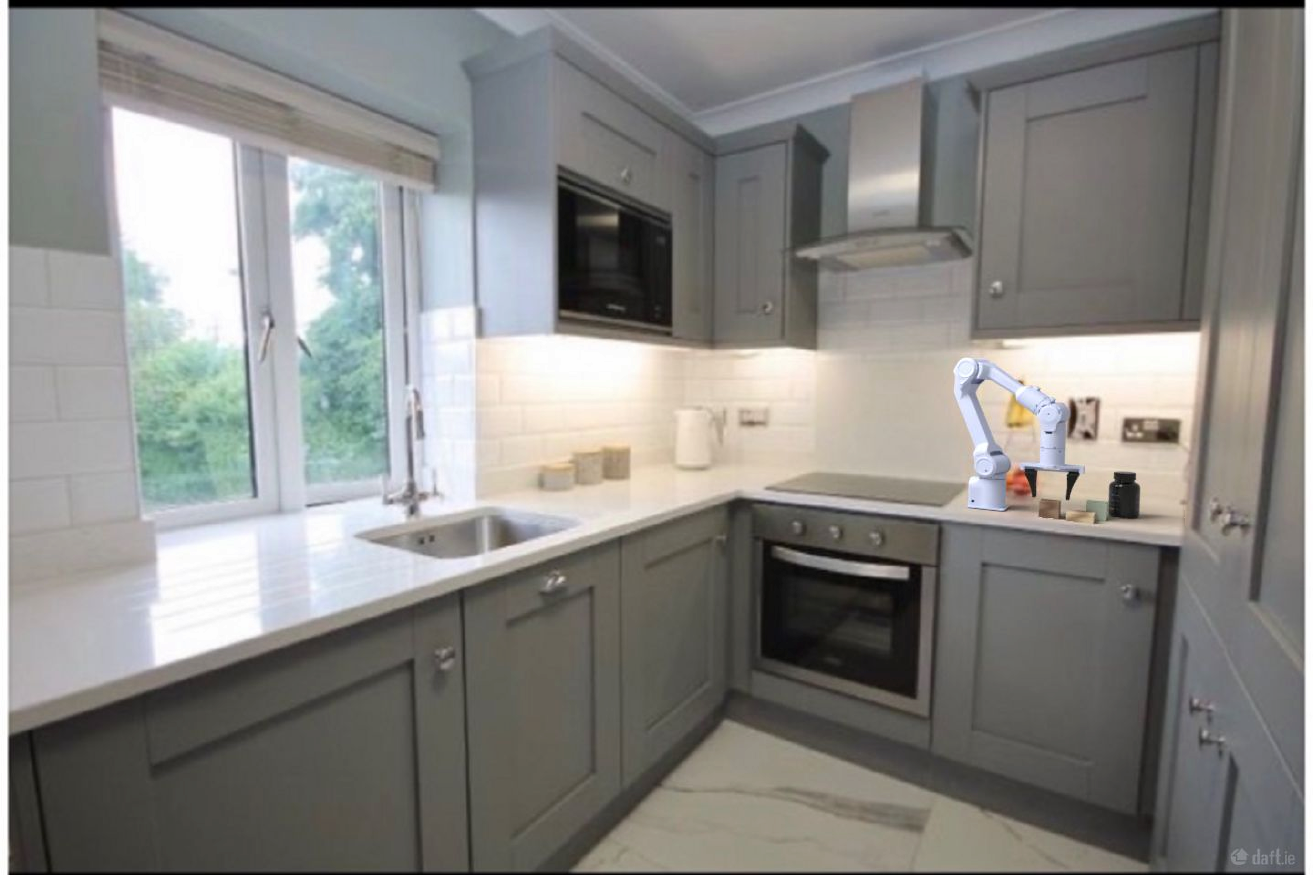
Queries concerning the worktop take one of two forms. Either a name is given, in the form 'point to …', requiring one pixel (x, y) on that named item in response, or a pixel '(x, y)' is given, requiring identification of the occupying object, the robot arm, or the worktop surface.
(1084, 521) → the oak slab
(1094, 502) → the sage cube
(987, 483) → the robot arm
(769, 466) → the worktop surface
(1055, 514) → the walnut cube
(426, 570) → the worktop surface
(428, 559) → the worktop surface
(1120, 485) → the supplement bottle
